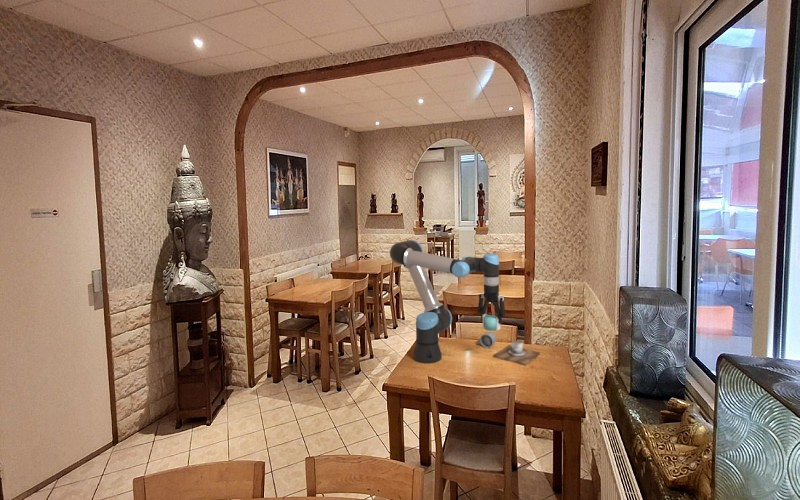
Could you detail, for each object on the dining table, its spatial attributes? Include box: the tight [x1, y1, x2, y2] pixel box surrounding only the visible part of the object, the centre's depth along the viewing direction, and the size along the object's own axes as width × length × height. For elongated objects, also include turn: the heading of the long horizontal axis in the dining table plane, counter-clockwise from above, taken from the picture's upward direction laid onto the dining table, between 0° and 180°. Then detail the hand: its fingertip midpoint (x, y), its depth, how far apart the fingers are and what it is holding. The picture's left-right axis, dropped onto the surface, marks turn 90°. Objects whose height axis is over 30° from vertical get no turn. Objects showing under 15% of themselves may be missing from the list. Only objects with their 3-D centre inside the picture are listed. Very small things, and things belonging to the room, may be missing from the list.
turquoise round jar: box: [483, 314, 498, 332], centre depth 214 cm, size 7×7×7 cm
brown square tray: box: [492, 340, 541, 367], centre depth 221 cm, size 18×18×7 cm
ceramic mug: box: [476, 331, 497, 349], centre depth 237 cm, size 11×8×8 cm
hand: (491, 327), depth 214 cm, fingers closed on turquoise round jar, 7 cm apart
